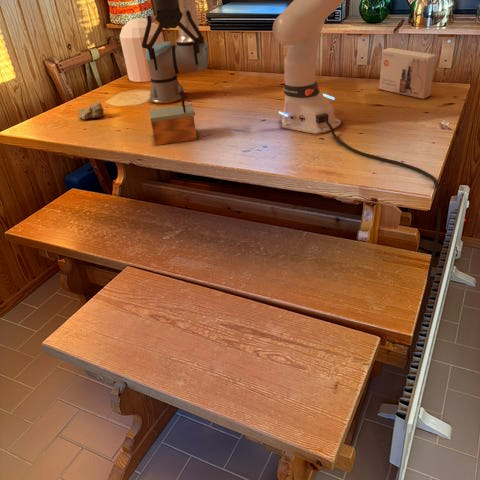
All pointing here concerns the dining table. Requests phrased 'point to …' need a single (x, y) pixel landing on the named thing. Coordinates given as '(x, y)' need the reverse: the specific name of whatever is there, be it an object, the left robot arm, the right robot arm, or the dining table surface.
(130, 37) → the container
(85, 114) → the rock
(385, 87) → the skincare box
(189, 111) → the lid
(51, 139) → the dining table surface
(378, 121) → the dining table surface
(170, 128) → the chest
